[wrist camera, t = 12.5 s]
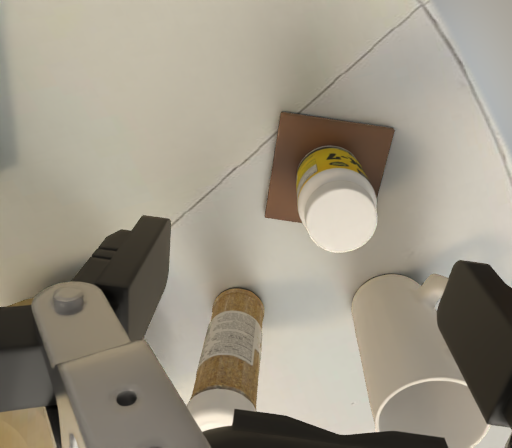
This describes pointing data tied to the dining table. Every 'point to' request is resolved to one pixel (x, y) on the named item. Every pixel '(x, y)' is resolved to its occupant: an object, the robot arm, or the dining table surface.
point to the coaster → (314, 136)
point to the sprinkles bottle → (228, 360)
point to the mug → (412, 362)
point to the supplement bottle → (335, 199)
